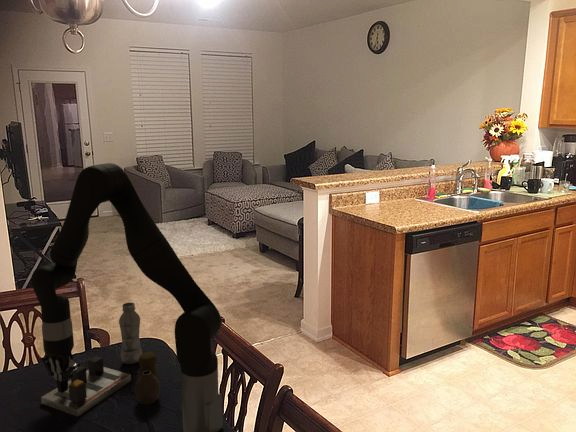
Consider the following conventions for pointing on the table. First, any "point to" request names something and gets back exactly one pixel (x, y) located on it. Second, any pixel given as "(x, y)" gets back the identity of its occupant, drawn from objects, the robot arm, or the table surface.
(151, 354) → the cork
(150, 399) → the vase
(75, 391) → the breaker handle
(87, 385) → the breaker panel
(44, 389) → the table surface
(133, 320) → the plastic bottle
